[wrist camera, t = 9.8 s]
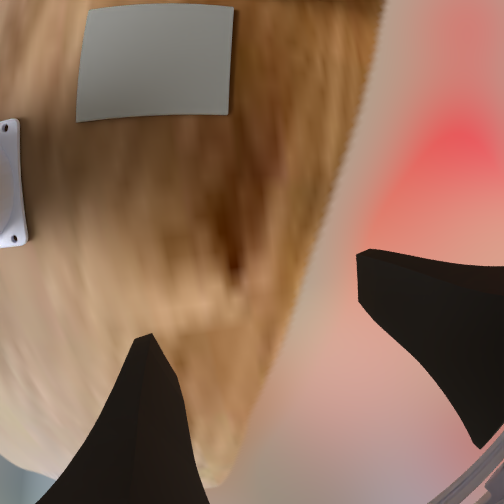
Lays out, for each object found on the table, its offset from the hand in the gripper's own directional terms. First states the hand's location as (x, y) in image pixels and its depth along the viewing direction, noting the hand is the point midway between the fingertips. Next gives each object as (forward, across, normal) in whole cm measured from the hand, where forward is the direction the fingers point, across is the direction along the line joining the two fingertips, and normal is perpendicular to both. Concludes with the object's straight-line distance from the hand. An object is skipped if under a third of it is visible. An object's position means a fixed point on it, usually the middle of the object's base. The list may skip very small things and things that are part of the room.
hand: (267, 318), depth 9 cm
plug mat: (+10, 0, -11) cm, 15 cm away
